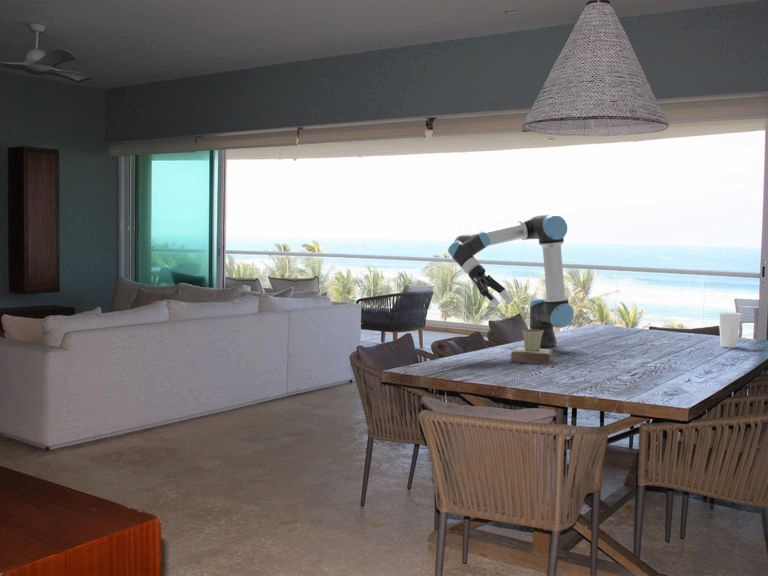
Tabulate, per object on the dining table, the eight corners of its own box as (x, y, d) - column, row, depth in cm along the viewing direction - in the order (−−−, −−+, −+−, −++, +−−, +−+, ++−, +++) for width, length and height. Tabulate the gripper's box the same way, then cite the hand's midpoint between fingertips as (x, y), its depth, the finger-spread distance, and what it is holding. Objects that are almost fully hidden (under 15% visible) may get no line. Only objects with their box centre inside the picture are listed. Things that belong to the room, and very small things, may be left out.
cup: (712, 346, 401) (714, 312, 400) (722, 344, 408) (723, 311, 407) (735, 348, 392) (736, 314, 392) (743, 347, 399) (745, 313, 398)
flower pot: (517, 349, 346) (517, 329, 345) (536, 348, 348) (537, 329, 348) (527, 352, 337) (528, 331, 336) (547, 351, 340) (547, 331, 339)
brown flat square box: (516, 356, 353) (516, 347, 353) (552, 358, 348) (553, 348, 348) (511, 361, 338) (511, 351, 337) (549, 363, 333) (549, 353, 333)
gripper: (481, 274, 372) (510, 307, 364) (455, 276, 351) (486, 311, 344) (491, 262, 369) (521, 296, 361) (466, 264, 348) (497, 300, 340)
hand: (504, 303), depth 352 cm, fingers open, 13 cm apart
